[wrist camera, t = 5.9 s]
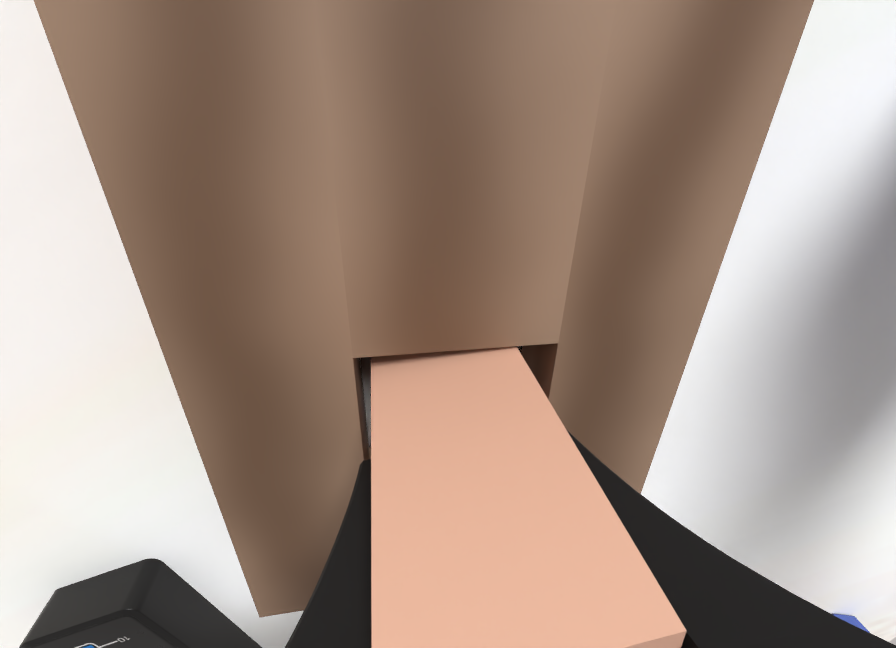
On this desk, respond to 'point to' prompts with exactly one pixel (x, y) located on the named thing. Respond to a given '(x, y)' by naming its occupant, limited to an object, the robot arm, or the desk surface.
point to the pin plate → (415, 213)
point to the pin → (495, 517)
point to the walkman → (851, 621)
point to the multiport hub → (134, 614)
